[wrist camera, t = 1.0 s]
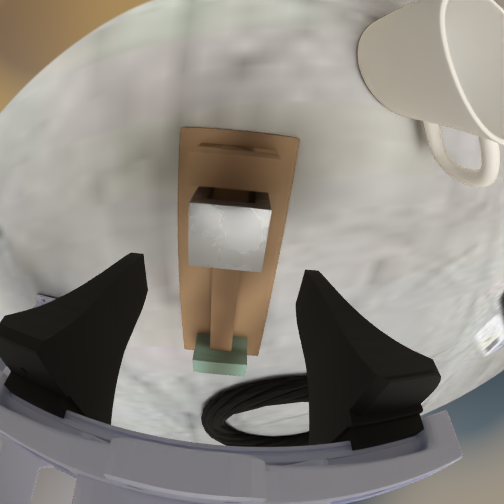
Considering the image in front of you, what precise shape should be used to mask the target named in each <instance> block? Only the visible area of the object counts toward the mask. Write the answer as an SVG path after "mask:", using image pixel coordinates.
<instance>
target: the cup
mask: <svg viewBox="0 0 504 504" xmlns="http://www.w3.org/2000/svg"><path fill="white" fill-rule="evenodd" d="M358 63H359V68H360V72H361V74H362V77H363V79H364V81H365V83H366V85H367V87H368V88H369V90H370V91H371V92H372V94H373V95H374V96H375V97H376V98H377V100H378V101H379V102H380V103H382V104H383V105H384V106H385V107H387V108H388V109H389V110H391V111H393V112H395V113H397V114H399V115H401V116H404V117H408V118H412V119H416V120H421V121H423V123H424V128H425V132H426V137H427V140H428V144H429V147H430V149H431V152H432V154H433V156H434V158H435V160H436V161H437V163H438V164H439V165H440V167H441V168H442V169H443V170H444V171H445V172H446V173H447V174H448V175H450V176H451V177H452V178H454V179H456V180H457V181H459V182H461V183H463V184H466V185H468V186H472V187H479V188H481V187H487V186H489V185H491V184H492V183H493V182H494V181H495V179H496V177H497V175H498V171H499V165H500V152H499V144H502V145H504V10H503V9H502V8H501V7H500V6H499V5H498V4H497V3H496V2H495V1H493V0H418V1H415V2H413V3H411V4H409V5H406V6H404V7H402V8H400V9H398V10H396V11H394V12H392V13H390V14H388V15H386V16H384V17H382V18H380V19H378V20H376V21H375V22H373V23H372V24H371V25H369V26H368V27H367V29H366V30H365V31H364V32H363V34H362V36H361V38H360V41H359V45H358ZM440 125H442V126H446V127H449V128H453V129H457V130H460V131H464V132H467V133H470V134H473V135H477V136H478V137H479V143H480V149H481V158H482V166H481V169H479V170H471V169H467V168H464V167H462V166H460V165H458V164H457V163H455V162H454V161H453V160H452V159H451V158H450V157H449V155H448V154H447V152H446V150H445V148H444V145H443V142H442V137H441V130H440Z"/></svg>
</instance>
